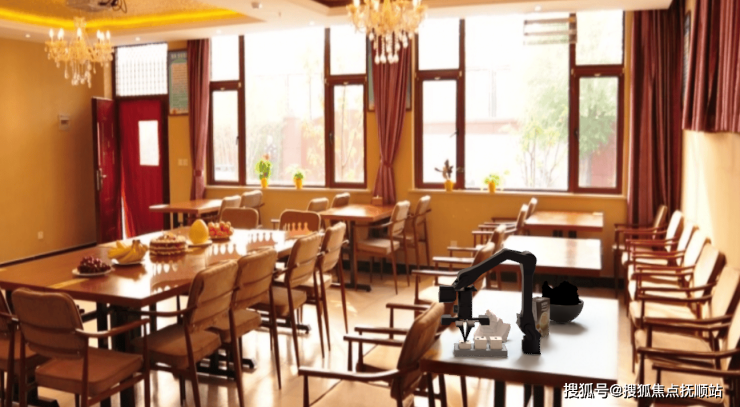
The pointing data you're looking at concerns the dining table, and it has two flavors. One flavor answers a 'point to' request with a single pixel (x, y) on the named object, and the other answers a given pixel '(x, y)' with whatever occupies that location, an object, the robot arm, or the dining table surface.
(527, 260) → the robot arm
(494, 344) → the key one dot
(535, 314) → the coffee box
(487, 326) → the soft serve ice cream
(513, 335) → the dining table surface
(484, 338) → the key two dots
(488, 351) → the key board
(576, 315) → the coal bowl
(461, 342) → the key three dots
